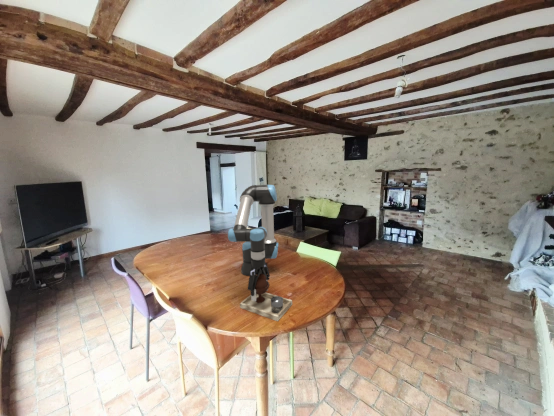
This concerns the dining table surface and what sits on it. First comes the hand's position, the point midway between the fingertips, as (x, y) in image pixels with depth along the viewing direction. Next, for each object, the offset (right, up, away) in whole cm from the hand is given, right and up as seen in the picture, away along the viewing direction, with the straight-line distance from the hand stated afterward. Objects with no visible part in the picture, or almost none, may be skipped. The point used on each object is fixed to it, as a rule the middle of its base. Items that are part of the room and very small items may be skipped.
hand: (259, 295), depth 125 cm
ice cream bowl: (0, -3, +1) cm, 3 cm away
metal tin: (+10, -6, -5) cm, 12 cm away
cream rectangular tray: (+4, -6, -1) cm, 7 cm away
